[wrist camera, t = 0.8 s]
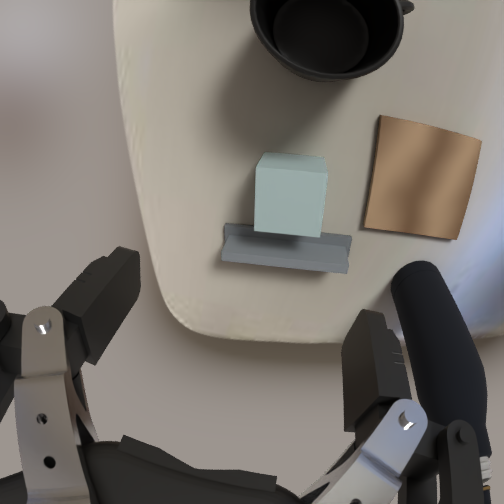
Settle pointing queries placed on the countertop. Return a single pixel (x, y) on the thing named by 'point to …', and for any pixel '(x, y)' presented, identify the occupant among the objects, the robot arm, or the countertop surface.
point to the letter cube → (290, 194)
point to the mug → (330, 34)
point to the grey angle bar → (286, 249)
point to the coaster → (420, 179)
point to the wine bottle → (442, 355)
